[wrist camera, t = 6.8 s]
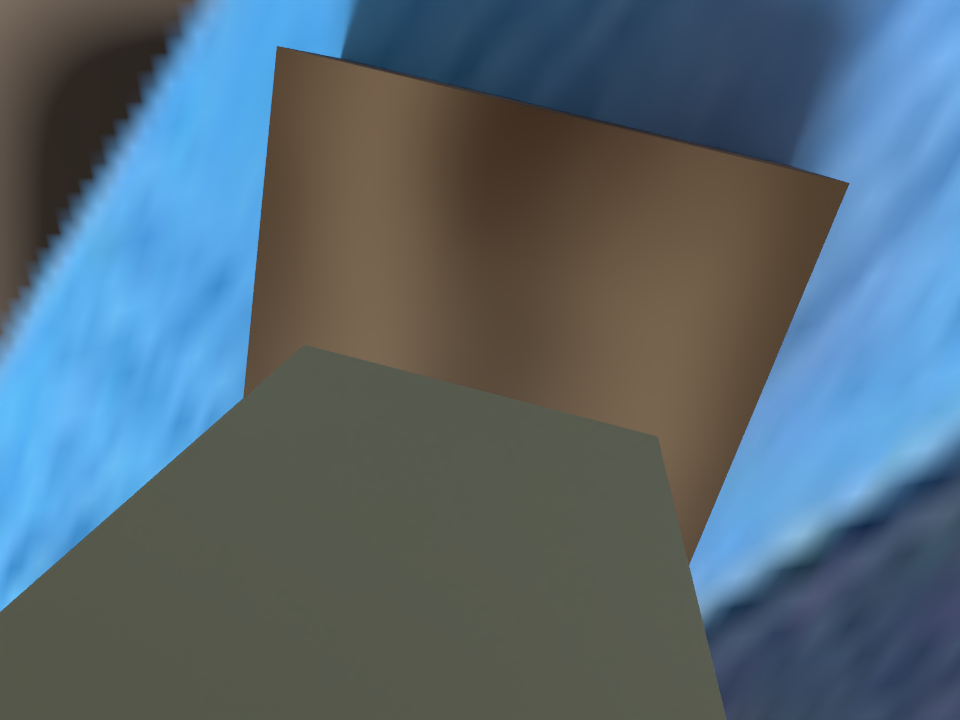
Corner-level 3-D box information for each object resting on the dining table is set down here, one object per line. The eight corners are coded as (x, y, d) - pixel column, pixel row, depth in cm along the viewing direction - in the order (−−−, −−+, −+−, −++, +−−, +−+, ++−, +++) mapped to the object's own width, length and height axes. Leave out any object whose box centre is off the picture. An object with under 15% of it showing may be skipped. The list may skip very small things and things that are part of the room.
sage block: (657, 436, 9) (784, 957, 4) (561, 700, 11) (544, 1312, 5) (304, 344, 9) (-99, 697, 4) (268, 618, 11) (-36, 1126, 6)
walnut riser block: (790, 166, 17) (849, 182, 13) (645, 542, 22) (660, 633, 18) (339, 58, 18) (277, 46, 14) (289, 447, 22) (232, 516, 18)
